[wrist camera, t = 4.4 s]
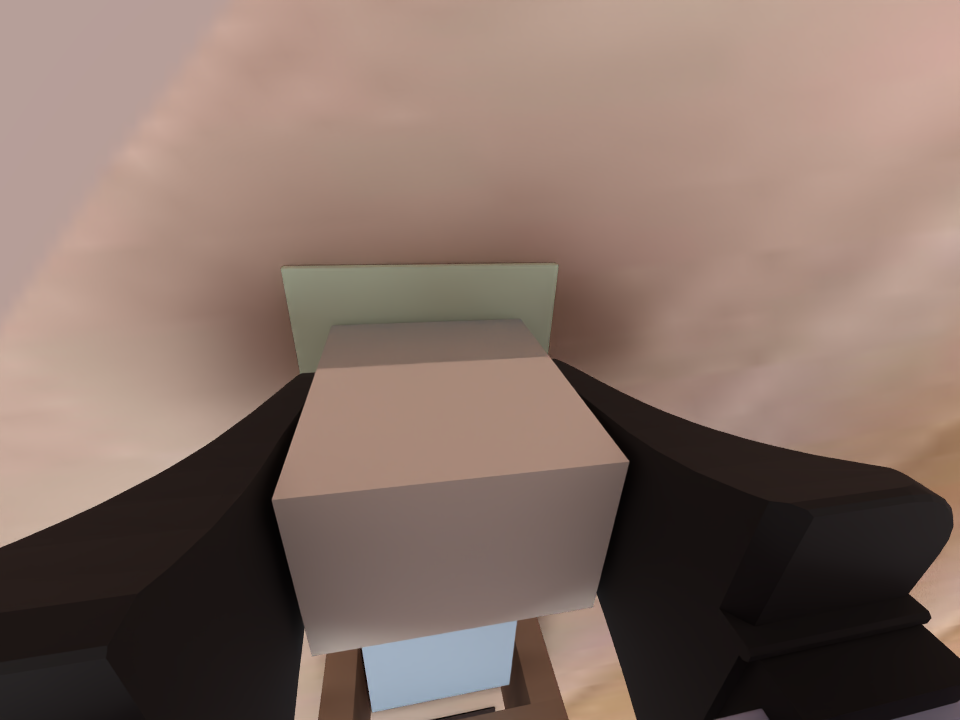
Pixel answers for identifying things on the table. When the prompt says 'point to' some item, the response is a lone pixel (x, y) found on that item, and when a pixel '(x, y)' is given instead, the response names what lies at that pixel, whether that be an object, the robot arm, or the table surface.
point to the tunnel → (527, 716)
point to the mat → (414, 298)
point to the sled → (442, 502)
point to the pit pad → (470, 714)
